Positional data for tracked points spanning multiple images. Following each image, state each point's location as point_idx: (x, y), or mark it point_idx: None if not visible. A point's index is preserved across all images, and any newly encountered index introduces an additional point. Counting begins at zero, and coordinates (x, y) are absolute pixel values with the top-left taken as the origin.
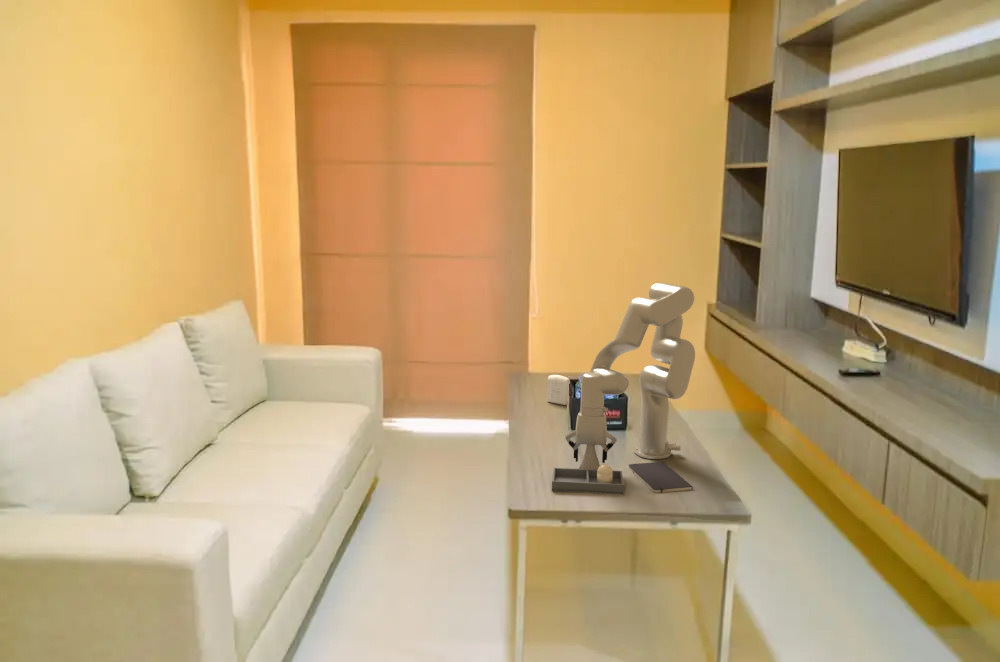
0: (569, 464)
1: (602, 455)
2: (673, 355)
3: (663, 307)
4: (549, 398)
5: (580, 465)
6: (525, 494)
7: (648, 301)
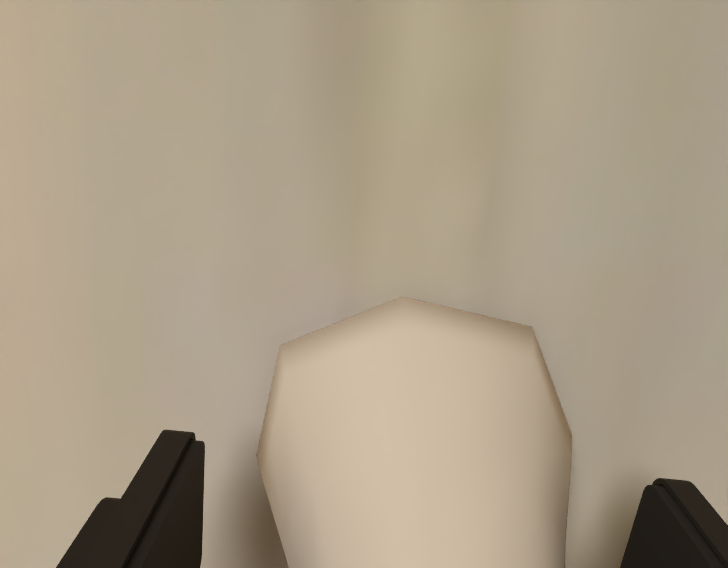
0: (114, 300)
1: (686, 562)
2: None
3: None
4: None
5: (265, 482)
6: None
7: None
